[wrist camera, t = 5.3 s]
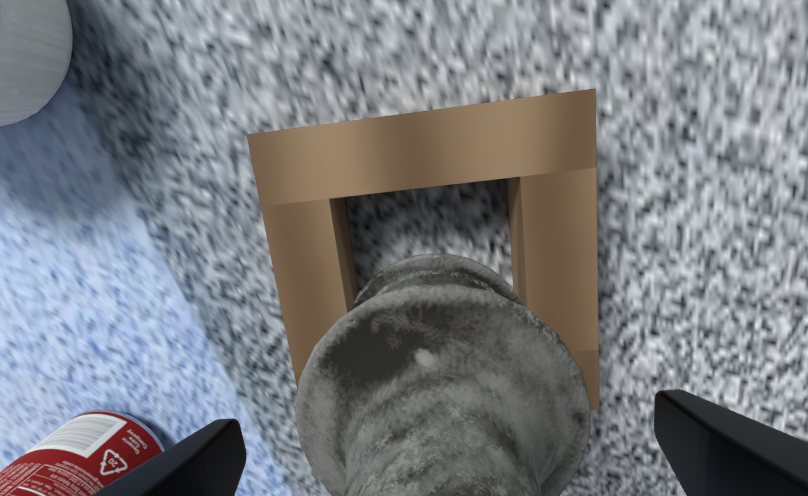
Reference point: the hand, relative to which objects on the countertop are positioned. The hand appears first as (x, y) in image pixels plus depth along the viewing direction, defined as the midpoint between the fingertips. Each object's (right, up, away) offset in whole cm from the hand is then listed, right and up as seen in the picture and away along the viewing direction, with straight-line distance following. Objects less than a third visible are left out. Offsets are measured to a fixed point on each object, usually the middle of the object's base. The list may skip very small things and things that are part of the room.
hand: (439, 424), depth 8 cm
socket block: (+1, +3, +12) cm, 13 cm away
